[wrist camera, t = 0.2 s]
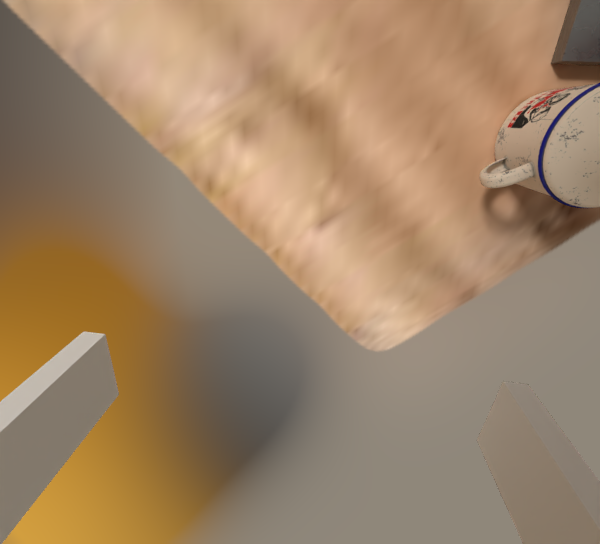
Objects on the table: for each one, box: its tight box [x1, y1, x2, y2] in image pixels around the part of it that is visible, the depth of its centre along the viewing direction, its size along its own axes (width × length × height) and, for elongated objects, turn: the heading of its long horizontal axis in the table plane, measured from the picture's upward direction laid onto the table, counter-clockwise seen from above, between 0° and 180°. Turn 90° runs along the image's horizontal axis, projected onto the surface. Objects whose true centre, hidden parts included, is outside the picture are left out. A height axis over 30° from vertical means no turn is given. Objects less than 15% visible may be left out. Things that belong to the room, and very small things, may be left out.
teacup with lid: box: [480, 83, 600, 208], centre depth 27 cm, size 12×9×12 cm
